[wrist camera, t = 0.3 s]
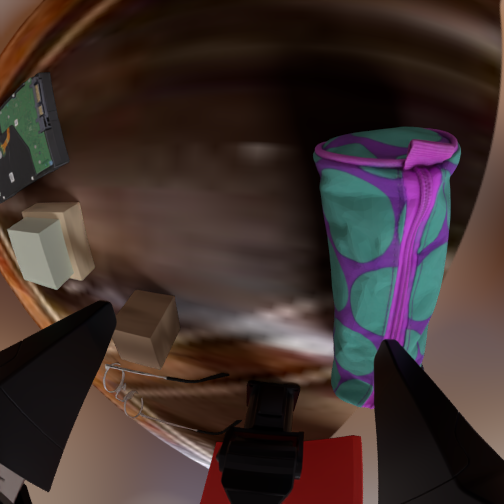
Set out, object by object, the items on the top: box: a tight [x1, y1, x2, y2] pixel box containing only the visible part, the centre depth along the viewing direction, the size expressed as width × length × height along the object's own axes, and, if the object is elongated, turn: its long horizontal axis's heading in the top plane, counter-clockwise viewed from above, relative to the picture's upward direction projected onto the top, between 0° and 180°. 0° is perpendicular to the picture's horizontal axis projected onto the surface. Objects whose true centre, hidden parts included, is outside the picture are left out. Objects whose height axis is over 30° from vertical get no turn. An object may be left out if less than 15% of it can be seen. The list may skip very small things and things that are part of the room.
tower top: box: [7, 217, 74, 290], centre depth 22 cm, size 6×6×3 cm
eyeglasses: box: [103, 363, 242, 435], centre depth 35 cm, size 16×19×5 cm
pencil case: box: [313, 127, 461, 409], centre depth 17 cm, size 21×9×10 cm, turn 12°
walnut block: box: [112, 290, 180, 370], centre depth 26 cm, size 4×4×6 cm
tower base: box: [22, 202, 95, 281], centre depth 25 cm, size 8×8×3 cm
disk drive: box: [0, 72, 69, 203], centre depth 20 cm, size 10×3×15 cm
